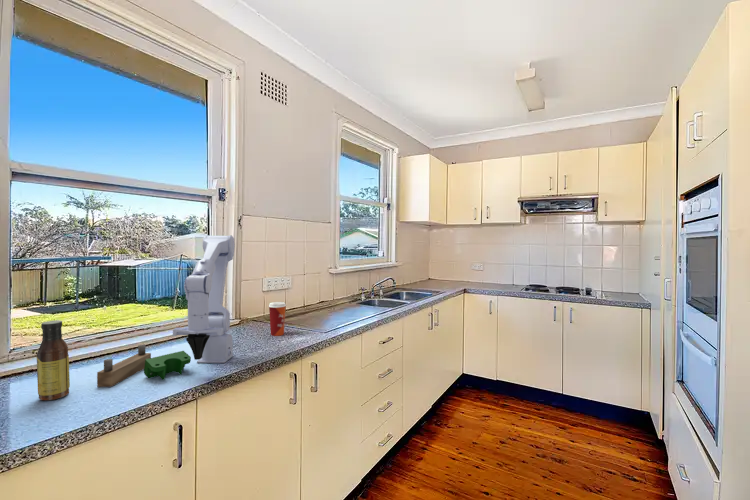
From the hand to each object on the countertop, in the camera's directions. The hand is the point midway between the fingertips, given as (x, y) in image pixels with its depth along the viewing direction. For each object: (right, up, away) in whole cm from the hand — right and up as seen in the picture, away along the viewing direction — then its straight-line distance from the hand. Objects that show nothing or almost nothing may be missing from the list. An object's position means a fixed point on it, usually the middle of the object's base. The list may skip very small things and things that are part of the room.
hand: (198, 358), depth 111 cm
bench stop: (-22, -5, 0) cm, 23 cm away
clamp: (-9, -5, 0) cm, 11 cm away
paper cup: (+11, -5, +50) cm, 52 cm away
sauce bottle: (-30, -5, -16) cm, 34 cm away
